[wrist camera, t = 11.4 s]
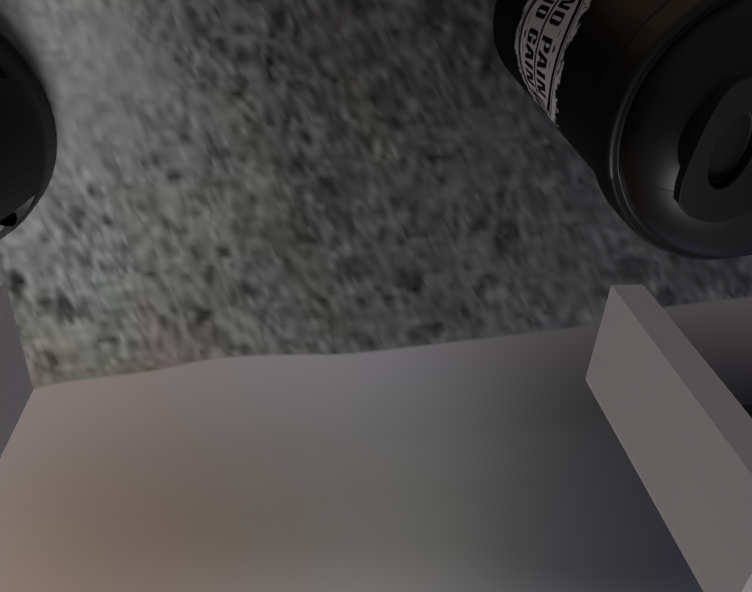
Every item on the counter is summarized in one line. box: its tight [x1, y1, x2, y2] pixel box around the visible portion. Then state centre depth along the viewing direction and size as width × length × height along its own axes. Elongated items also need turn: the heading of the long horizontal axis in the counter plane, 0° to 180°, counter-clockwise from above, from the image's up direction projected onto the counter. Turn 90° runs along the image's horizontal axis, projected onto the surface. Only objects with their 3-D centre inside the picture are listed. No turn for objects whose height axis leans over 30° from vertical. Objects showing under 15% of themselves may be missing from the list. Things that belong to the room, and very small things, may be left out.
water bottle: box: [493, 0, 752, 260], centre depth 31 cm, size 10×10×23 cm
